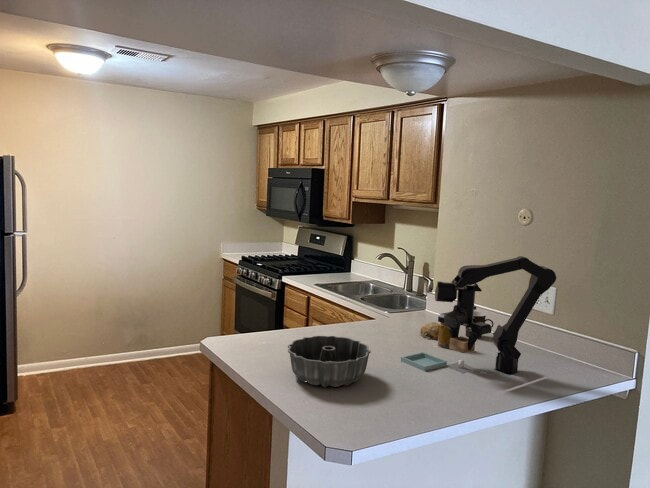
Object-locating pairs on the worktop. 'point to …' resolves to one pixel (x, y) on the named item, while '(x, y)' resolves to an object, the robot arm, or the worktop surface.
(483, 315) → the coffee mug
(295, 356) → the bundt pan
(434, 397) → the worktop surface
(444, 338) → the condiment
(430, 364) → the tray
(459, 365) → the gray plate with knob
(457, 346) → the ring
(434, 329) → the bread roll
